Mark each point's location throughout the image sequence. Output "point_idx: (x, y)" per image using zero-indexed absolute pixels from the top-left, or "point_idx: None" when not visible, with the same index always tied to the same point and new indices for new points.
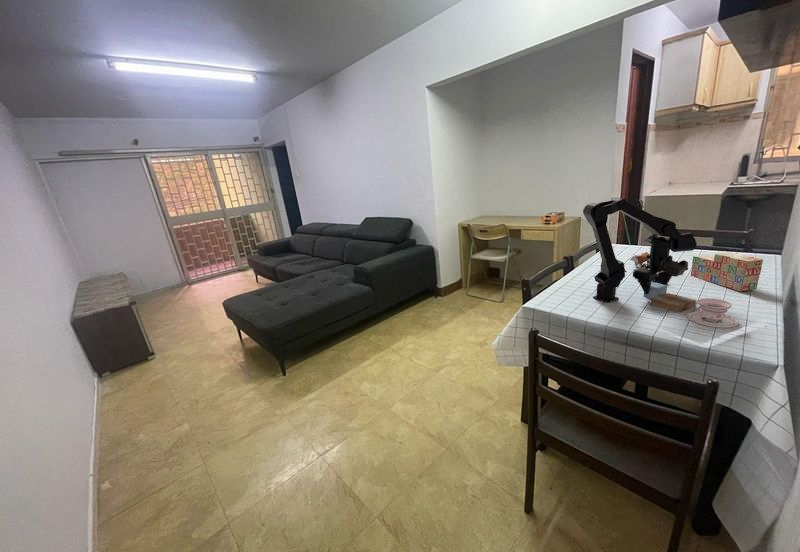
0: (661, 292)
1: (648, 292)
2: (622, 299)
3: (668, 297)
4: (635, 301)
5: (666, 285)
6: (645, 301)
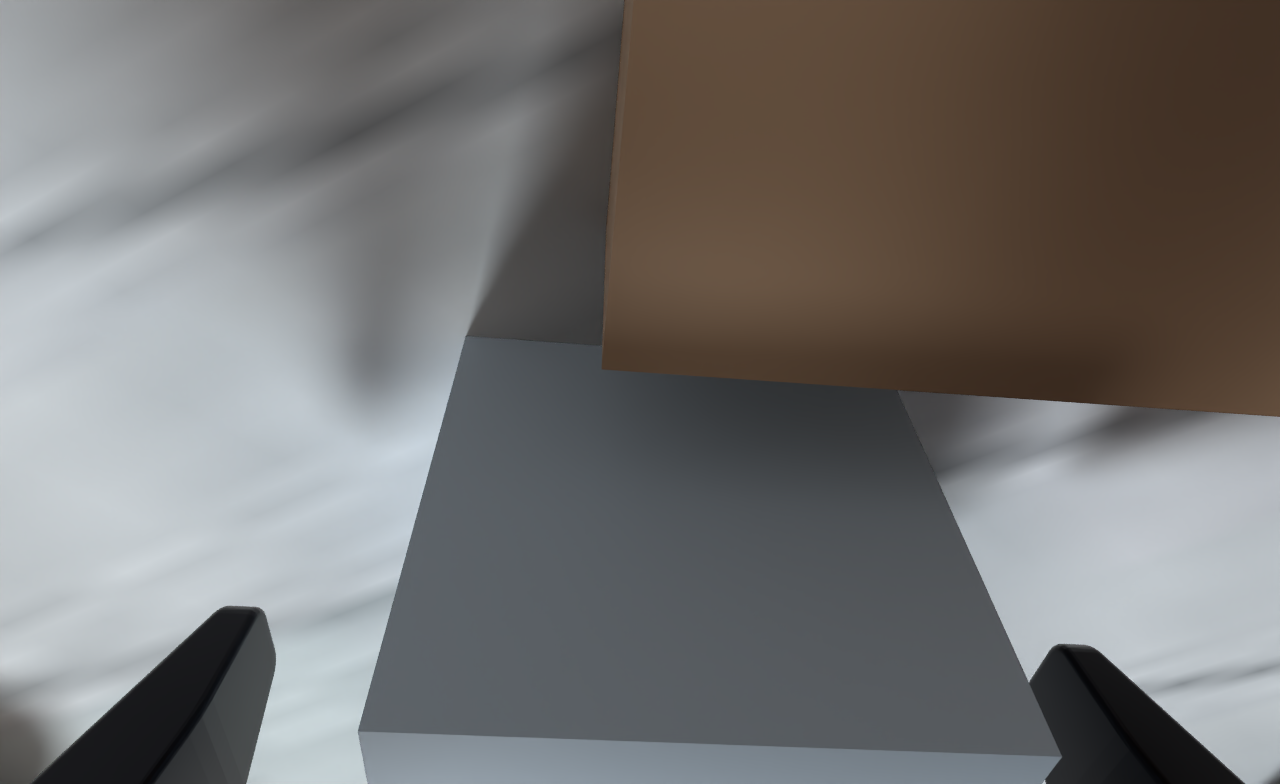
0: (740, 517)
1: (1129, 696)
2: (1235, 723)
3: (1270, 76)
4: (1264, 575)
5: (392, 746)
6: (1158, 470)
